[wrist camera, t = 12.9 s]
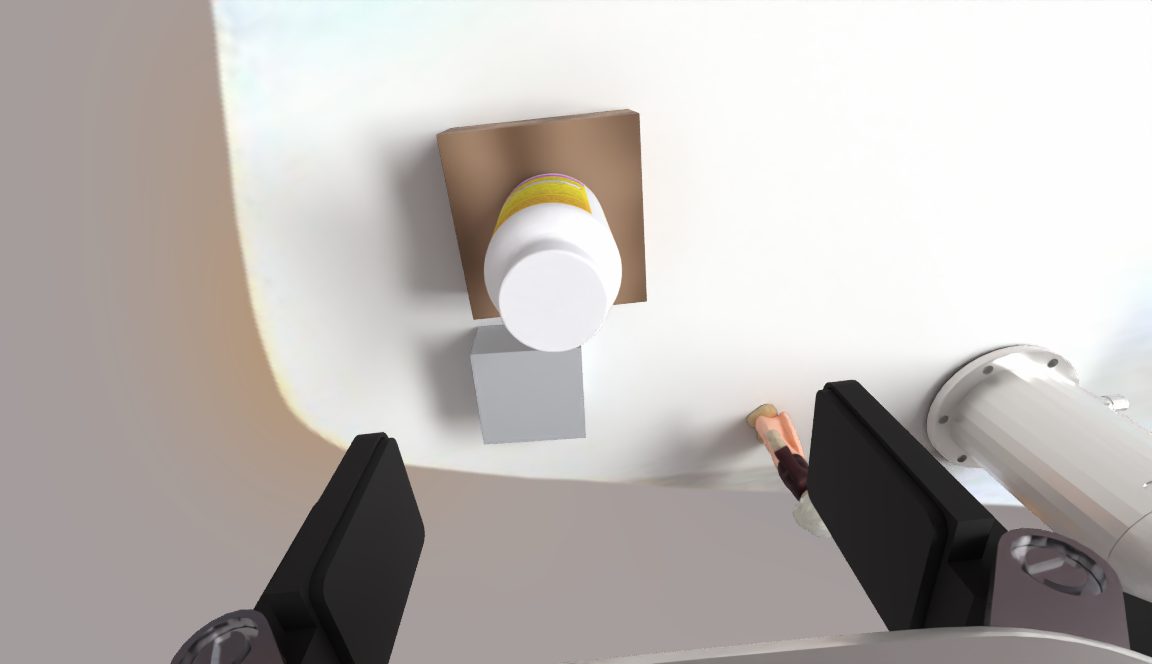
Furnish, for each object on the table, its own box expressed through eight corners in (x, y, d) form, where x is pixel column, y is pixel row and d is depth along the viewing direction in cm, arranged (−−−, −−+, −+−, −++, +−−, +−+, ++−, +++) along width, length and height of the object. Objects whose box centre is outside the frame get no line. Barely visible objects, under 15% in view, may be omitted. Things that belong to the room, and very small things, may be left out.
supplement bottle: (478, 214, 33) (437, 288, 21) (562, 148, 31) (568, 188, 20) (543, 293, 35) (539, 397, 24) (624, 235, 34) (662, 316, 22)
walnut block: (627, 109, 35) (639, 113, 30) (636, 276, 40) (646, 301, 36) (451, 128, 35) (436, 135, 30) (482, 292, 40) (473, 319, 36)
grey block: (577, 319, 42) (581, 347, 37) (582, 402, 45) (585, 437, 41) (478, 325, 42) (469, 354, 37) (490, 408, 45) (484, 444, 41)
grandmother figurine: (805, 433, 48) (885, 544, 36) (770, 456, 49) (837, 571, 37) (759, 381, 45) (830, 483, 33) (723, 406, 46) (780, 514, 34)
